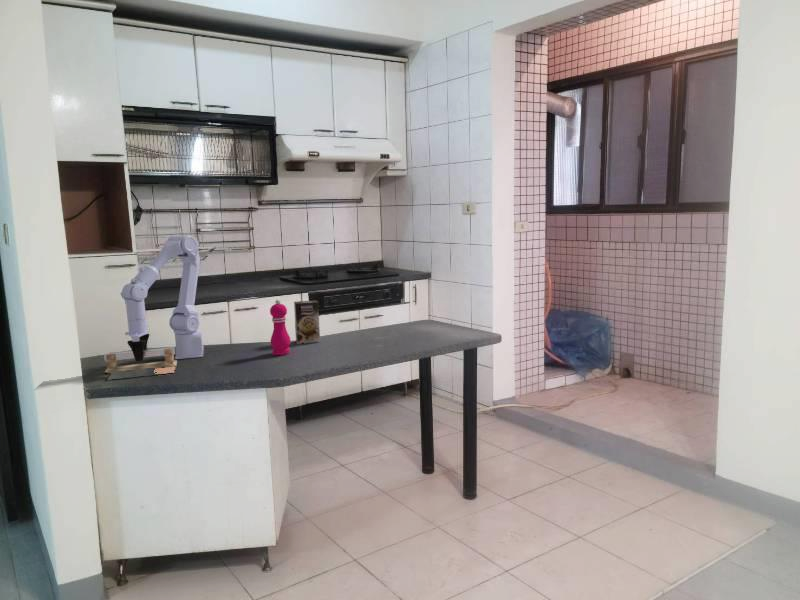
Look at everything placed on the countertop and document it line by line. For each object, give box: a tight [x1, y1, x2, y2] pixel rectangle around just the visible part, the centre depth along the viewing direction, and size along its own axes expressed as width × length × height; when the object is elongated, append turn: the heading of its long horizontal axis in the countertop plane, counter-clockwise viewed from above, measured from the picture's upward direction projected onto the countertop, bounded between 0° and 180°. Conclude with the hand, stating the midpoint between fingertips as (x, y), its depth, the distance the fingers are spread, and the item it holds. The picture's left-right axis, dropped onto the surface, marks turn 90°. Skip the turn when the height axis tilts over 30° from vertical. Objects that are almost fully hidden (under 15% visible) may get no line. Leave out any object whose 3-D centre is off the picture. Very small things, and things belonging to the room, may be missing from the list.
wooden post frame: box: [104, 346, 178, 373], centre depth 200 cm, size 22×6×6 cm, turn 107°
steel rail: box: [103, 346, 176, 362], centre depth 199 cm, size 22×2×2 cm, turn 107°
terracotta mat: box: [154, 367, 176, 375], centre depth 193 cm, size 20×8×1 cm, turn 107°
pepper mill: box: [269, 299, 292, 356], centre depth 213 cm, size 7×7×20 cm
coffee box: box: [293, 300, 321, 345], centre depth 231 cm, size 9×6×16 cm
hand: (140, 358), depth 199 cm, fingers open, 7 cm apart
